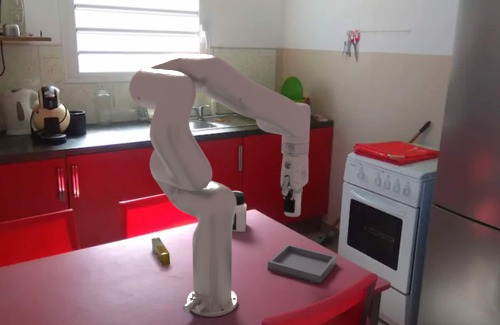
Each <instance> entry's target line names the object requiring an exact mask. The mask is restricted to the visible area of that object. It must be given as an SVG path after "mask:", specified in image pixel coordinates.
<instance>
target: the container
mask: <svg viewBox="0 0 500 325" xmlns="http://www.w3.org/2000/svg"><path fill="white" fill-rule="evenodd" d="M231 191H232V192H233V193H234V195H235V197H236V211H235V215H234V220H233V227H232V232H233V231H234V232H235V233H236V232H238V233H239V232H241V233H243V232H244V233H245V232H246V230H247V207H248V206H247V204H246V203H245V202H246V201H245V200H246V197H245V196H246V195H245V193H244V192H242V191H239V190H231ZM234 232H233V233H234Z"/></svg>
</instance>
